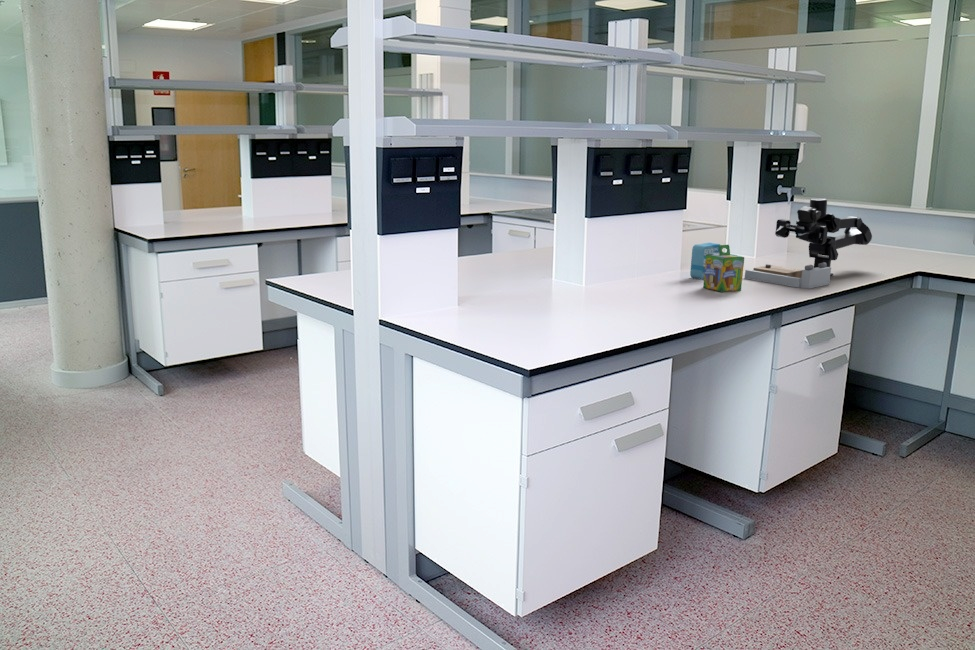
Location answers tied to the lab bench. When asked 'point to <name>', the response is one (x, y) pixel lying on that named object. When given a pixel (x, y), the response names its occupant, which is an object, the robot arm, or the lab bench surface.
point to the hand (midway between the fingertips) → (787, 235)
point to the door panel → (780, 271)
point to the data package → (701, 258)
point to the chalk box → (723, 271)
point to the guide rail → (773, 278)
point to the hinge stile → (815, 276)
